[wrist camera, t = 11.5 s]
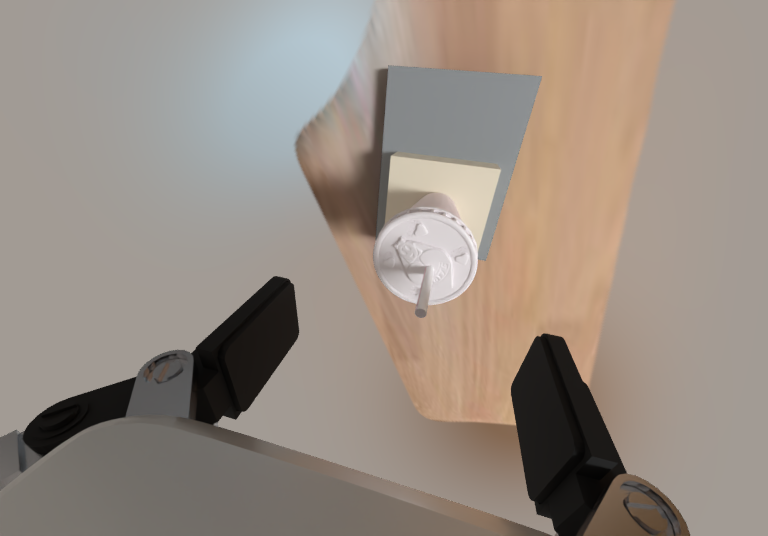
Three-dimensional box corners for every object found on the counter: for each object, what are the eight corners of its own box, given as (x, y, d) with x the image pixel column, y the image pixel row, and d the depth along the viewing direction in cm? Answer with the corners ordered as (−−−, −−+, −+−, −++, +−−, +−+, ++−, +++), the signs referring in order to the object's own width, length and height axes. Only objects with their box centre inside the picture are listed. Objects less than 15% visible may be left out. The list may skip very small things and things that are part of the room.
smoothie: (437, 258, 27) (418, 373, 15) (386, 215, 26) (324, 302, 14) (489, 210, 24) (517, 310, 12) (433, 159, 23) (402, 212, 11)
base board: (392, 67, 24) (379, 59, 20) (537, 78, 22) (553, 71, 18) (378, 235, 32) (367, 252, 28) (484, 254, 30) (488, 274, 26)
